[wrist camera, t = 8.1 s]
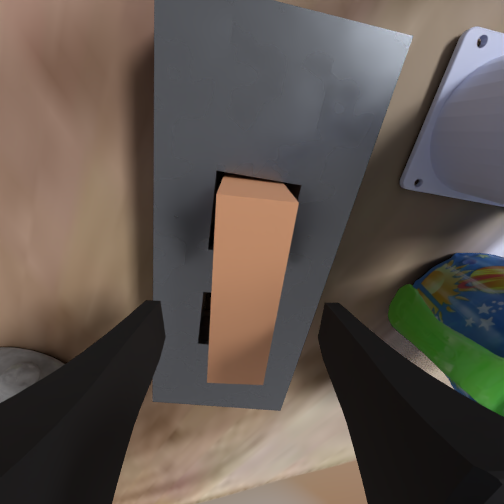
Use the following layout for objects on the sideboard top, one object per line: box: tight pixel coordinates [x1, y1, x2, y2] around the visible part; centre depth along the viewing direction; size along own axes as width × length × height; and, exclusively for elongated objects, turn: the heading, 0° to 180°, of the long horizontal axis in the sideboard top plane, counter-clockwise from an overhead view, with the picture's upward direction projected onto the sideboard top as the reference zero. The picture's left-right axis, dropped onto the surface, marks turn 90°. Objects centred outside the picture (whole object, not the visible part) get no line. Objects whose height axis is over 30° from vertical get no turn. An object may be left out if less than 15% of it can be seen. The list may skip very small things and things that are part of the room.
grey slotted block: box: [153, 0, 413, 411], centre depth 16 cm, size 10×24×4 cm, turn 170°
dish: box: [0, 347, 65, 403], centre depth 21 cm, size 14×14×5 cm
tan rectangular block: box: [207, 172, 299, 385], centre depth 14 cm, size 3×10×7 cm, turn 174°
